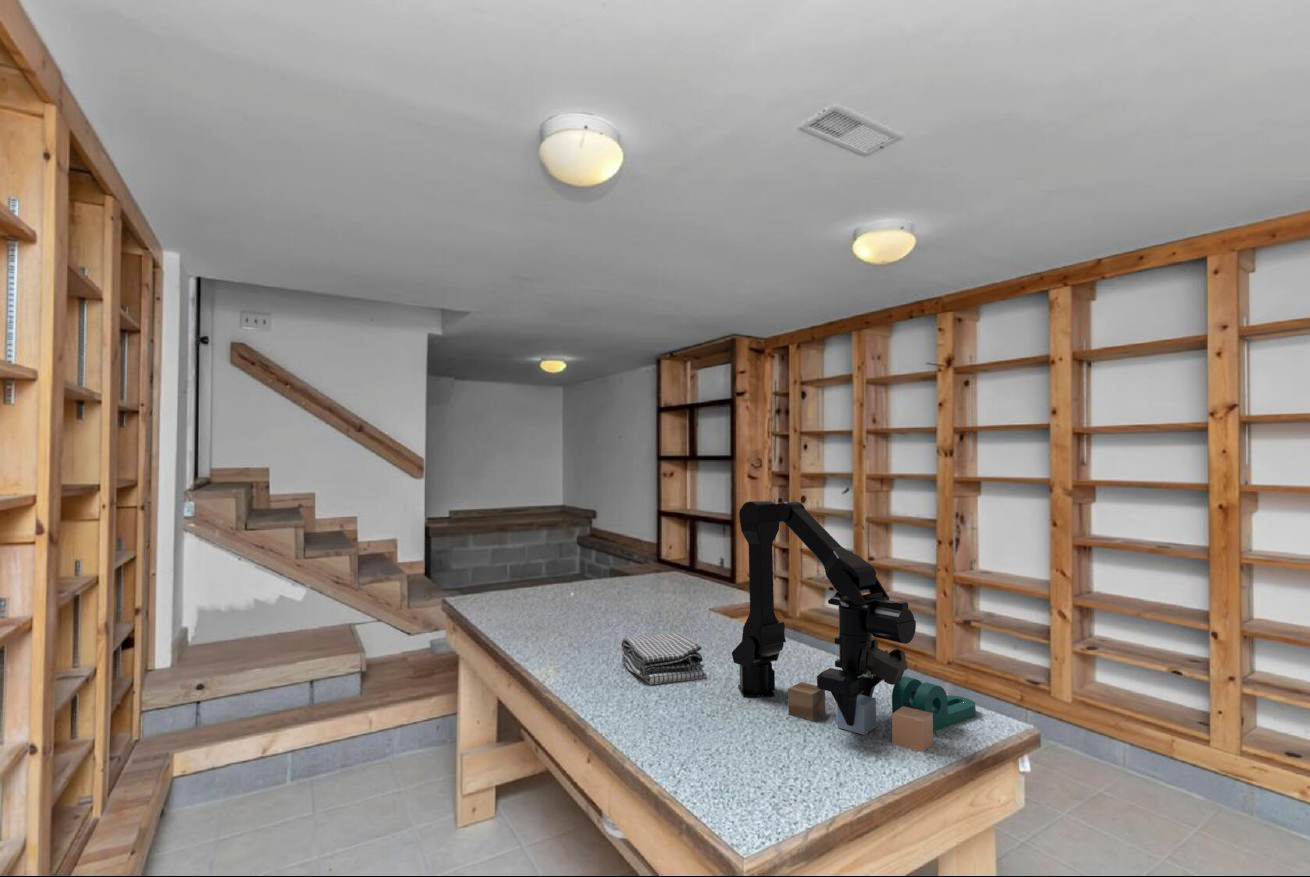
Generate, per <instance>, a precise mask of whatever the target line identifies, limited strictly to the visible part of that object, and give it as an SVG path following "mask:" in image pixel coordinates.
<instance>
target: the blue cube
mask: <svg viewBox="0 0 1310 877" xmlns="http://www.w3.org/2000/svg"><path fill="white" fill-rule="evenodd" d="M836 706H837V707H836V708H837V715H836V716H837V718H836V719H837V722H836V723H837V728H838V729H842V730H846V731H848V732H853V733H856V734H860V735H863V736H865V735H867V734H869V733H870V732H871V731H872V730H874V729H875V728H877V698H875V697H873V696H872V697H868V696H864V695H859V696H858V697H857V701H856V711H855V719H854V725H853V726H850V725H847V723H846V721H845V719H844V717H843V715H842V713H841V711H840V709H839V707H838V705H836Z"/></svg>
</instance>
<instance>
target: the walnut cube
mask: <svg viewBox="0 0 1310 877" xmlns="http://www.w3.org/2000/svg"><path fill="white" fill-rule="evenodd" d="M787 690H788V693H787V694H788V704H787V705H788V716H792V717H795V718H798V719H802V720H806V721H810V722H814V721H816V720H818V719H820V718H821V717H823V716H825V715H826V690H822V689H818V688H817V684H816V685H815V684H811V683H806V682H802V681H801V682H798V683H797V684H795V685H792V686H790V687H788V689H787Z"/></svg>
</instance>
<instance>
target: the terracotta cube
mask: <svg viewBox="0 0 1310 877" xmlns="http://www.w3.org/2000/svg"><path fill="white" fill-rule="evenodd" d="M891 732H892V734H891V735H892V737H891V739H892V740H891V741H892V745H895V746H899V747H902V748H906V749H910V750H912V751H913V750H914V751H917V752H921V753H924V752H925V751H926V750H927V749H928V748H930V747H931V745H933V743H934V732H933V713H930V712H926V711H922V710H917V709H913V708H909V707H905V706H902V707H901V708H900V709H898V710H897V711H895V712H894V713H891Z"/></svg>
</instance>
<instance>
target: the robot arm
mask: <svg viewBox="0 0 1310 877" xmlns="http://www.w3.org/2000/svg"><path fill="white" fill-rule="evenodd" d="M738 514H739V515H738V516H739V518H738V519H739V524H740V525H739V526H740V531H741V533H742V535H743V537H744V539H745V540H746V542H747V544H748V572H749V573H748V578H749V579H748V580H749V584H748V586H749V588H748V589H749V615H748V617H747V618H746V621H745V623H744V625H743V627H742V637H741V642H740V643H739V644H738V645H737V646H736V647H735V648H734V649H733V651H731V655H732V660H733V663H734V664H737V665H739V684H738V685H737V688H738V690H739V691H740V693H741V695H742V696H743V697H745V698H746V697H749V698H752V697H755V698H756V697H775V692H774V691H775V690H776V682H775V681H776V679H775V678H776V677H775V675H776V674H775V673H776V671H775V669H774V668H773V663H772V662H777V661H778V659H779V655H780V652H781V651H783V648H784V643H786V642H787V640H786V636H785V632H786V630H785V628H786V625H785V622H784V621H779V619H778V617H777V616H776V614H775V607H774V606H775V602H774V599H775V598H774V596H775V595H774V570H773V569H774V566H773V565H774V564H773V563H774V562H773V560H774V559H773V544H774V541H775V539H776V537H777V535H778V533H779V530H780V524H781V523H785V525H787V527H788V528H789V529H790V530H791V532H792V533H794V534H795V535H796V536H797V538H798V539H799V540H800V541H801V542H802V543H803V545H805V546H806V547H807V549H809V551H811V553H812V554H813V555H814V556H815V557H816V558H817V559H818V560H819V562H820V563H821V565H823V568H824V572H825V576H826V578H827V579H828V581H829V582H830V584H831V585H832V587H833V588H834V590H835V591H836V592H835V594H834V595H833V596H832V597H831V598H829V599H828V600H827V604H829V605H832V606H837V607H838V636H836V637H834V644H836V645H838V650H839V651H838V657H839V658H838V659H837V660H835V661H834V667H835V668H834V667H830V668H828V669H826V670H823V671H821V672H820V673H819V674H818V675H816V686H817V688H818V689H822V690H825V692H826V691H827V692H830V693H831V695H832V697H833V699H834V700H835V702H836V704H837V705H838V707H839V709H840V711H841V713H842V715H843V717H844V719H845V721H846V723H847V725H850V726H853V725H854V719H855V711H856V701H857V697H858V696H859V695H864V696H868V697H873V694H874V691H875V688H876V686H877V685H879V684H880V683H881V682H882V681H883V682H884V683H886V684H888V685H891V686H894V685H895V683H896V682H898V681H901V679H902V677H903V676H904V673H905V671H906V670H908V661H907V659H906V658H907V657H906V652H905V651H904V650H902V649H900V648H898V647H896V648H894V649H893V650H891V651H890V652H889V650H882V649H881V648H879V642H878V640H877V639H881V640H887V641H889V642H890V641H891V642H896V643H899V644H900V643H901V644H906V645H907V644H909V643H910V642H912V641H913V639H914V638H915V637H914V636H915V634H916V628H917V621H916V619H915V617H914V614H913V612H912V611H911V609H909V603H908V602H907V601H904V600H903V601H902V600H899V601H895V600H890V596H889V595H888V593H887V592H886V590H885V589H884V587H883V584H882V583H881V582H880V581H879V579H878V577H877V571H876V569H875V568H874V567H873V565H872V564H871V563H869V562H868V561H866V560H865V559H864V558H862V557H861V556H859V555H858V554H856V553H854V552H852V551H849V550H848V549H845V547H843V546H842V545H840V544H839V542H838V541H837V540H836V539H835V538H834V537H833V536H832V535H831V534H830V533H829V532H828V531H827V530H826V529H825V528H824V527H823V526H822V525H821V524H820V523H819V522H818V521H817V520H816V519H815V518H814V516H812V514H811V513H809V511H808V510H806V507H805V506H804V503H803V504H802V503H801V502H799V501H783V502H780V503H774V502H773V501H770V500H761V501H759V500H758V501H757V500H755V501H746V502H744V503H743V505H742V506H741V507H740V508H739V513H738ZM837 668H840V669H837ZM837 705H836V706H837Z"/></svg>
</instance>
